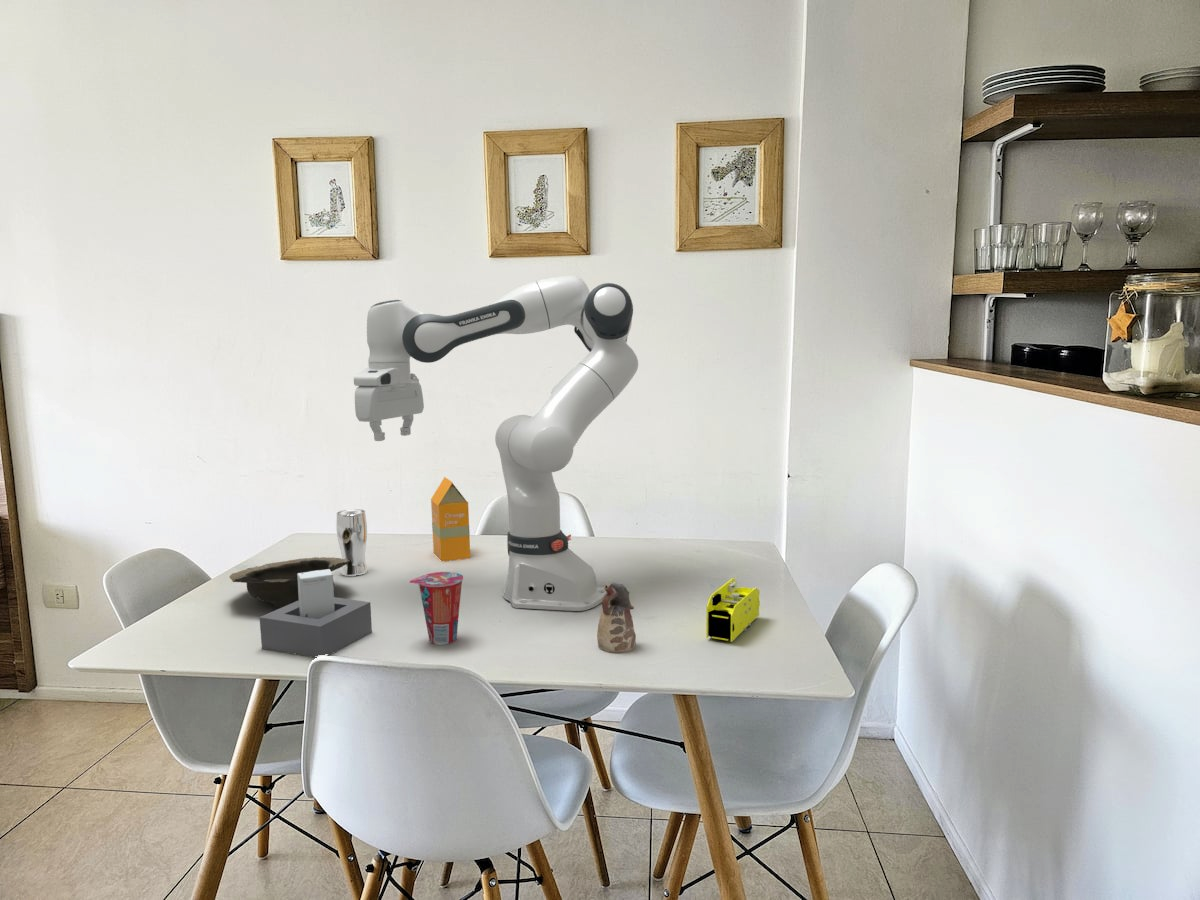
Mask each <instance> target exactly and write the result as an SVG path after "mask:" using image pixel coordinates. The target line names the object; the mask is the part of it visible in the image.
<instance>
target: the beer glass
mask: <svg viewBox="0 0 1200 900" xmlns="http://www.w3.org/2000/svg"><path fill="white" fill-rule="evenodd" d="M367 524H368V523H367V517H366V510H364V509H362V508H361V509H358V508H355V509H354V508H353V509H352V508H351V509H344V510H339V511H337V512H336V537H337V542H338V546H339V550H340V553H341V559H347V561H348V560H350V561H349V562H348V563H347V564H346V565H344V566H342V567H341V572H340V573H341V575H342V576H343V575H345V576H344V577H348V576H352V577H357V576H356V575H360V576H363V575H362V574H364V575H366V574H367V573H368V568H367V567H368V566H367V563H366V548H367V540H368V525H367ZM351 559H352V560H351ZM365 573H366V574H365Z"/></svg>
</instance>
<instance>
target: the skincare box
mask: <svg viewBox="0 0 1200 900" xmlns="http://www.w3.org/2000/svg"><path fill="white" fill-rule="evenodd" d="M332 572H333V571H332ZM332 572H331V570H330V569H326V570H316V571H310V572H304V573H297V578H298V595H299V612H300V616H302V617H308V618H315V619H320V618H322V617H324V616H326V615H328V614H330V613H332V612H334V611H335V607H334V597H335V594H334V593H335V589H334V587H335V585H334V586H333V580H334V574H333V573H332Z"/></svg>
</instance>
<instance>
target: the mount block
mask: <svg viewBox="0 0 1200 900" xmlns="http://www.w3.org/2000/svg"><path fill="white" fill-rule="evenodd" d="M334 607H335V611H334V612H332V613H330V614H328V615H326V616H324V617H322V618H320V619H315V618H308V617H302V616H300V612H299V600H298V601H296V602H294V603H291V604H289V605H287V606H284V607H282V608H280V609H277V610H275V609H274V610H273V611H271V612H268V613H266V614H263V615H261V616H260V617H259V627H260V628H259V629H260V642H261V649H264V650H268V649H270V651H274V650H277V651H276V652H280V651H282V652H281V653H286V652H289V653H288V654H291V653H296V654H295V655H297V654H300V655H299V656H303V655H306V656H305V657H309V656H312V657H311V658H315V656H318V655H325V654H330V655H332V654H334V653H336V652H338V651H339V650H341V649H344V648H345V647H347V646H348V645H351V644H352V643H354V642H357V641H358V640H360V639H362V638H364V637H366V636H368V635H369V634H371V633H372V631H373V627H372V612H371V611H372V610H371V609H372V608H371V601H365V600H364V601H363V600H356V599H349V598H342V597H335V596H334ZM337 650H338V651H337ZM333 652H334V653H333Z"/></svg>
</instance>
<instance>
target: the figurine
mask: <svg viewBox="0 0 1200 900" xmlns="http://www.w3.org/2000/svg"><path fill="white" fill-rule="evenodd" d="M603 588H604V589H605V590H606V592H607V594H606V595H605V596H604V598H603V601H602V602H601V608H602V609H601V612H600V615H599V620H598V625H597V633H596V638H597V644H598V645H597V646H598V648H599V649H600V650H602V651H604V652H606V653H613V654H624V653H628V652H632V651H633V650H634V649H635V648H636V647H635V646H636V644H637V642H636V640H637V638H636V637H637V636H636V635H637V634H636V632H635V627H634V626H635V625H634V621H633V616H632V613H631V610H634V609H635V607H634V605H633V604H632V603H631V601H630V591H629V589H628V588H627V587H626V586H624V584H622V583H621V582H618V581H614V582H611V584H605V585H604V586H603Z"/></svg>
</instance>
